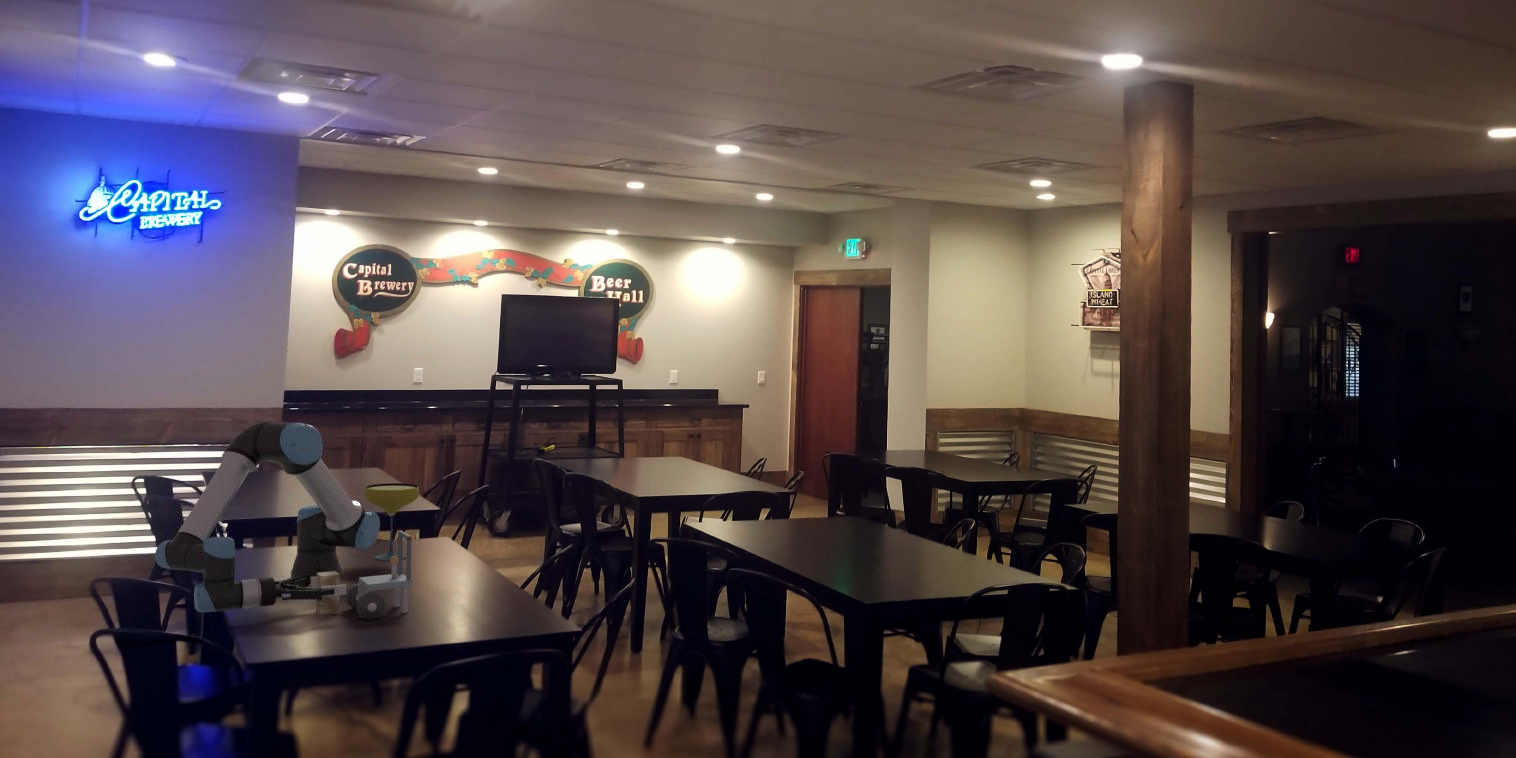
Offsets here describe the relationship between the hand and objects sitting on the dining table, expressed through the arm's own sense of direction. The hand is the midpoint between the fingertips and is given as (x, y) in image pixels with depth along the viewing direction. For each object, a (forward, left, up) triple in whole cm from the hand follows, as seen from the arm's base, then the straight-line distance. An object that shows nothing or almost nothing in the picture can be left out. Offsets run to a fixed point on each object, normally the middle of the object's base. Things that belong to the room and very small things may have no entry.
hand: (340, 584), depth 306 cm
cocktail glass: (-65, -35, -8) cm, 74 cm away
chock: (+3, -2, -7) cm, 8 cm away
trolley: (-3, +10, -7) cm, 13 cm away
